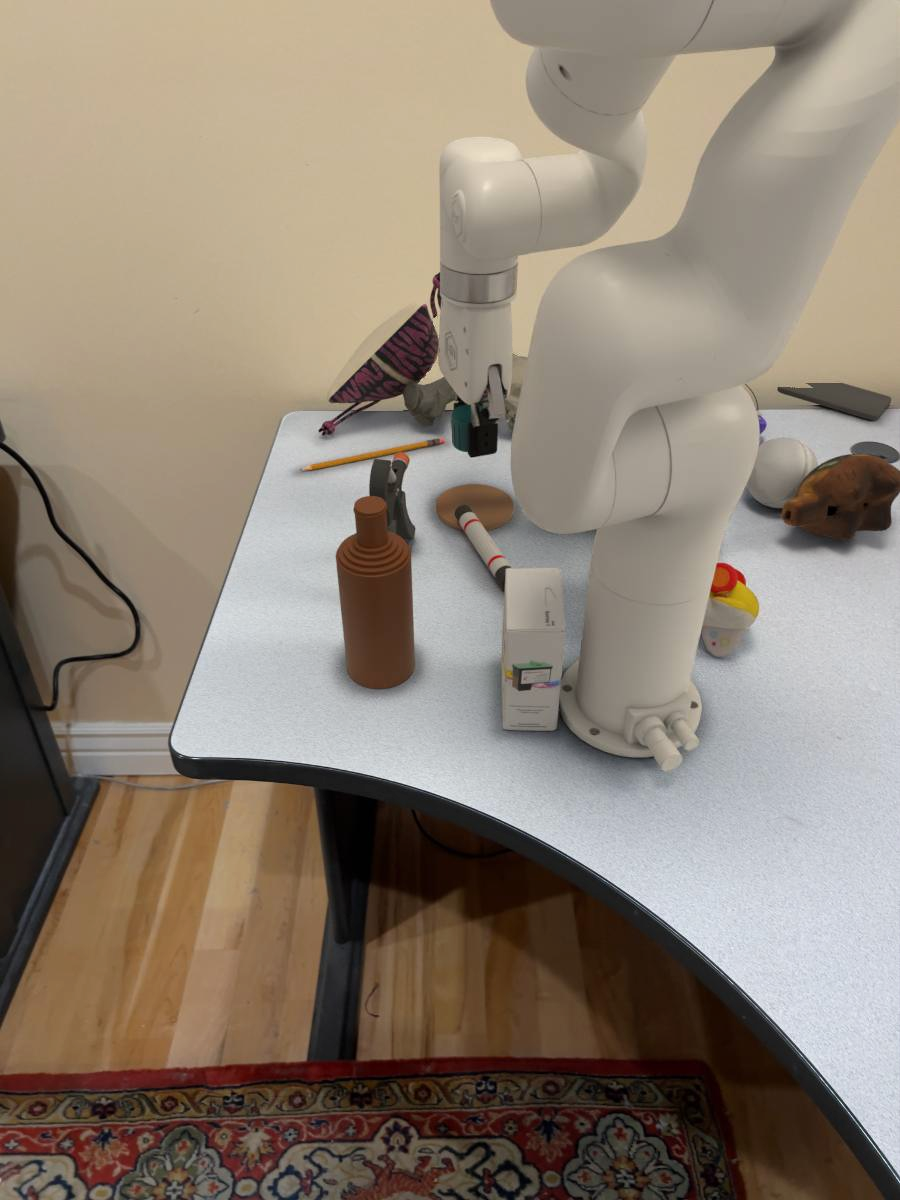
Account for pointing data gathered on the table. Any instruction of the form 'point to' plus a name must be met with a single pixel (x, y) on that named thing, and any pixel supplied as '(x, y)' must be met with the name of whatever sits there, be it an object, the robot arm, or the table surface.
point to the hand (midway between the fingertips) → (474, 442)
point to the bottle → (376, 599)
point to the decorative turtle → (845, 497)
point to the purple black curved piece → (388, 359)
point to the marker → (483, 543)
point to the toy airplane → (728, 611)
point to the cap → (461, 426)
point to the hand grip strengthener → (392, 493)
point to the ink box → (532, 648)
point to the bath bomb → (780, 471)
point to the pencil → (374, 454)
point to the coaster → (476, 505)
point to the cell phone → (842, 398)
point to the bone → (428, 400)
